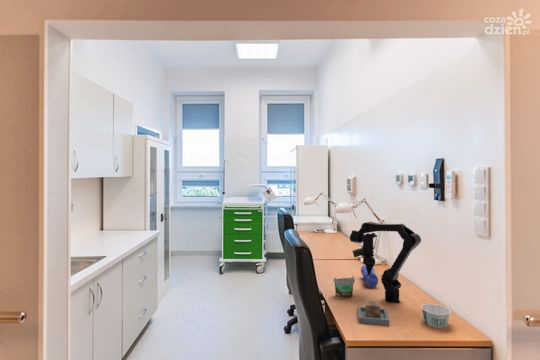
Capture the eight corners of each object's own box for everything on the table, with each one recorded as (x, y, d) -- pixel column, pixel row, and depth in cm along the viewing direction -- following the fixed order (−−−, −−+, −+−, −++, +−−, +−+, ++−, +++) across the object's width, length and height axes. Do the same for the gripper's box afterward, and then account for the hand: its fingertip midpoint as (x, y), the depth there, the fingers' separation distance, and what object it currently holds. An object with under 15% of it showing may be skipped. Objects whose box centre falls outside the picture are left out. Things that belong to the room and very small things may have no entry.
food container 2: (441, 317, 152) (441, 303, 152) (456, 329, 140) (456, 314, 140) (415, 317, 151) (415, 303, 151) (429, 329, 139) (429, 314, 139)
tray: (385, 313, 155) (385, 308, 155) (389, 325, 143) (389, 320, 143) (357, 311, 158) (357, 306, 158) (358, 322, 146) (358, 317, 146)
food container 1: (338, 299, 173) (338, 281, 173) (333, 295, 179) (333, 277, 179) (359, 297, 176) (359, 279, 176) (353, 293, 182) (353, 275, 182)
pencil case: (360, 277, 213) (360, 262, 213) (374, 277, 212) (374, 263, 211) (363, 288, 192) (363, 272, 192) (378, 289, 190) (378, 273, 190)
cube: (379, 314, 153) (379, 301, 153) (380, 319, 147) (380, 306, 147) (365, 313, 154) (365, 300, 154) (366, 318, 148) (366, 305, 148)
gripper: (353, 240, 193) (352, 266, 194) (353, 247, 175) (353, 276, 175) (372, 241, 191) (372, 268, 191) (375, 248, 173) (375, 277, 173)
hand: (368, 272), depth 183 cm, fingers open, 9 cm apart
